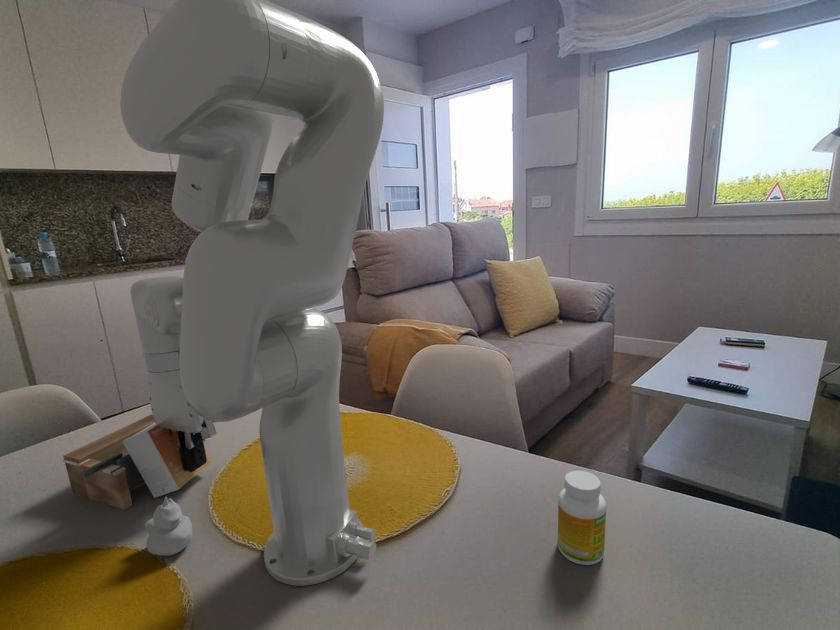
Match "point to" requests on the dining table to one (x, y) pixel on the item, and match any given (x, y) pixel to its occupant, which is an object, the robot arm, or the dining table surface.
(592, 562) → the supplement bottle
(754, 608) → the dining table surface
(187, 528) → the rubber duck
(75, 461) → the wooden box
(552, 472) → the dining table surface
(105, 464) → the pad
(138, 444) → the small box
